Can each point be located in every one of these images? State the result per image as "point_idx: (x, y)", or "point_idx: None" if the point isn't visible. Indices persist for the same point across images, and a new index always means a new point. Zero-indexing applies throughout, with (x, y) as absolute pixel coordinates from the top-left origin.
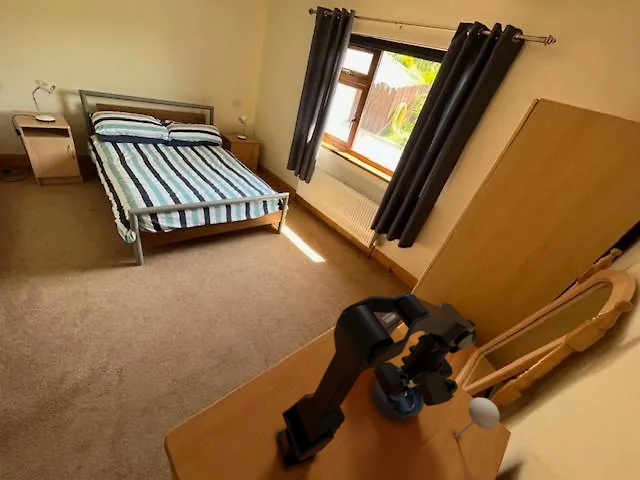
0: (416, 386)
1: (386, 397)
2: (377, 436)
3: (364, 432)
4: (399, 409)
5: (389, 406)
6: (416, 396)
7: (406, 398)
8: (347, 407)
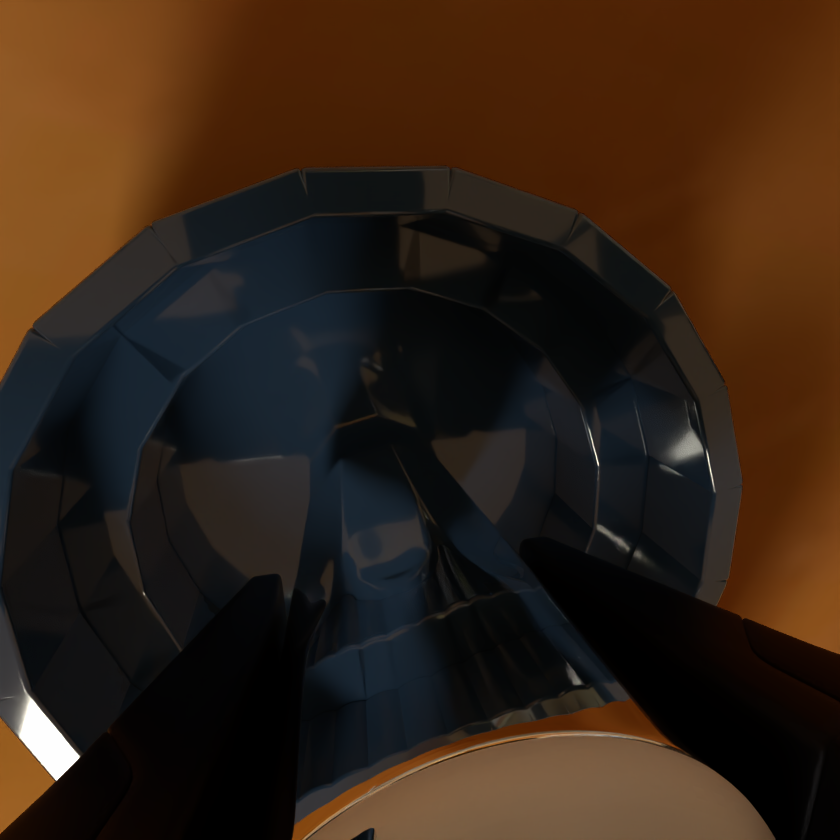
0: (41, 595)
1: None
2: (723, 170)
3: (808, 239)
4: (377, 354)
5: (699, 385)
6: (94, 455)
7: (218, 453)
8: (818, 461)
